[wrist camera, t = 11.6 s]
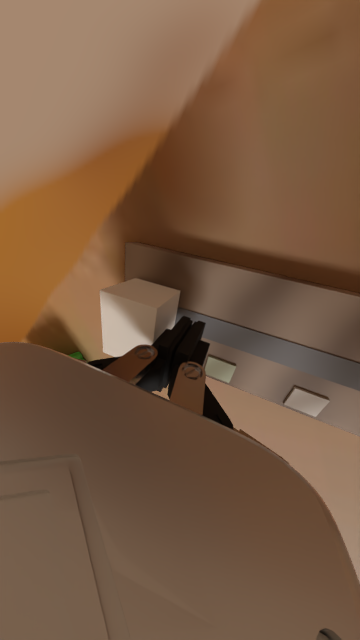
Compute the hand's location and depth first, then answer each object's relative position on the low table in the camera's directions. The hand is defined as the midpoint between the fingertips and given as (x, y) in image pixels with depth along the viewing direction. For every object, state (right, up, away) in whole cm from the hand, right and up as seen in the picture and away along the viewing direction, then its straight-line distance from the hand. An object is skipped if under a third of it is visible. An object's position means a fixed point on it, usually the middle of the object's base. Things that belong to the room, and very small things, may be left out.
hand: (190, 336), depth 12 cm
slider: (-3, +2, +3) cm, 4 cm away
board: (+5, 0, +2) cm, 5 cm away
